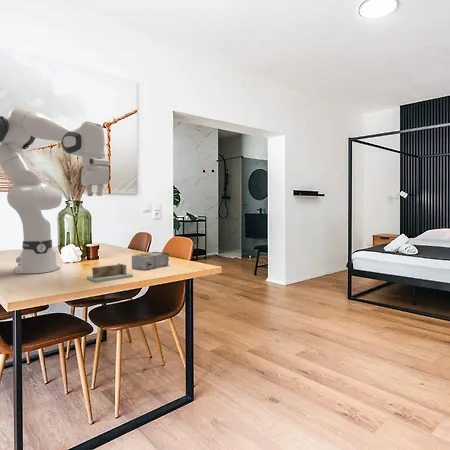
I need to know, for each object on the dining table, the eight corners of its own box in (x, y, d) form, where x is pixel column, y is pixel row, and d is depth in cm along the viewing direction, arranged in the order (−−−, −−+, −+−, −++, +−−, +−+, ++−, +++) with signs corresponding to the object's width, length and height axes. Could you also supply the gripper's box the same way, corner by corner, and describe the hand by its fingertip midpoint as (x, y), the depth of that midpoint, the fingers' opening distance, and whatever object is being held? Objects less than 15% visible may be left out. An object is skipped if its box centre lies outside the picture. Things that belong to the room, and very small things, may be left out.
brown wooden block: (97, 278, 142) (96, 269, 142) (90, 276, 147) (90, 267, 146) (126, 274, 151) (126, 265, 151) (119, 272, 155) (119, 263, 155)
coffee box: (131, 255, 170) (155, 251, 184) (131, 268, 171) (155, 263, 184) (145, 256, 165) (168, 252, 179) (145, 270, 166) (168, 265, 179)
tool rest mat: (86, 278, 147) (86, 276, 147) (123, 273, 158) (123, 271, 158) (95, 282, 141) (95, 279, 140) (132, 276, 151) (132, 274, 151)
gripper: (76, 163, 153) (77, 196, 153) (96, 159, 137) (96, 195, 138) (91, 164, 157) (92, 196, 158) (111, 160, 142) (112, 195, 142)
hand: (94, 196), depth 148 cm, fingers open, 8 cm apart
